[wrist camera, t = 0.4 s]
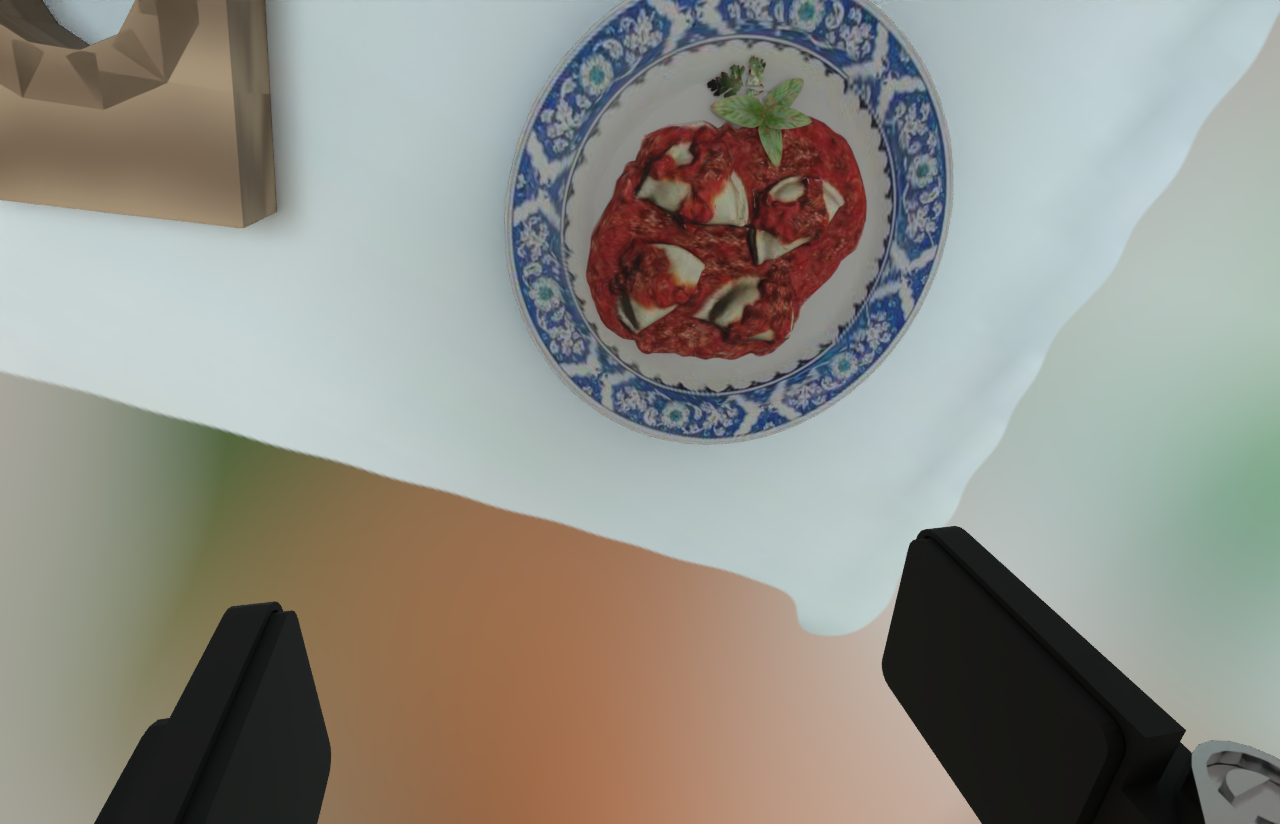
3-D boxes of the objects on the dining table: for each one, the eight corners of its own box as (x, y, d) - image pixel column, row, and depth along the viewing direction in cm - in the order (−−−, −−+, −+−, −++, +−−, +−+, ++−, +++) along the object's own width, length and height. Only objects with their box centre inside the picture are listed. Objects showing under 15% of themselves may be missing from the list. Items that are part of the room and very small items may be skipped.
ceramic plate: (805, 471, 47) (824, 493, 44) (444, 360, 38) (440, 379, 36) (1010, 104, 39) (1048, 104, 36) (609, -142, 30) (620, -165, 27)
